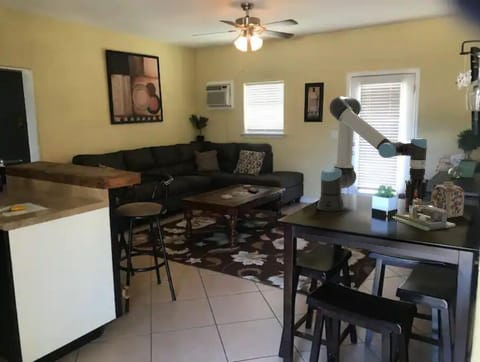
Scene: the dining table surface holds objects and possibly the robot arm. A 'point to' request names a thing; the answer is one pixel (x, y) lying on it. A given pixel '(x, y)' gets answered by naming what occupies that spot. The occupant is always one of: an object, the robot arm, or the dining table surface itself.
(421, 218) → the ball
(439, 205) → the decorative jar
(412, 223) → the pitch
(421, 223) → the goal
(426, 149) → the robot arm
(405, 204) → the mug
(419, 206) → the white arched piece
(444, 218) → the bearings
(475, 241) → the dining table surface
